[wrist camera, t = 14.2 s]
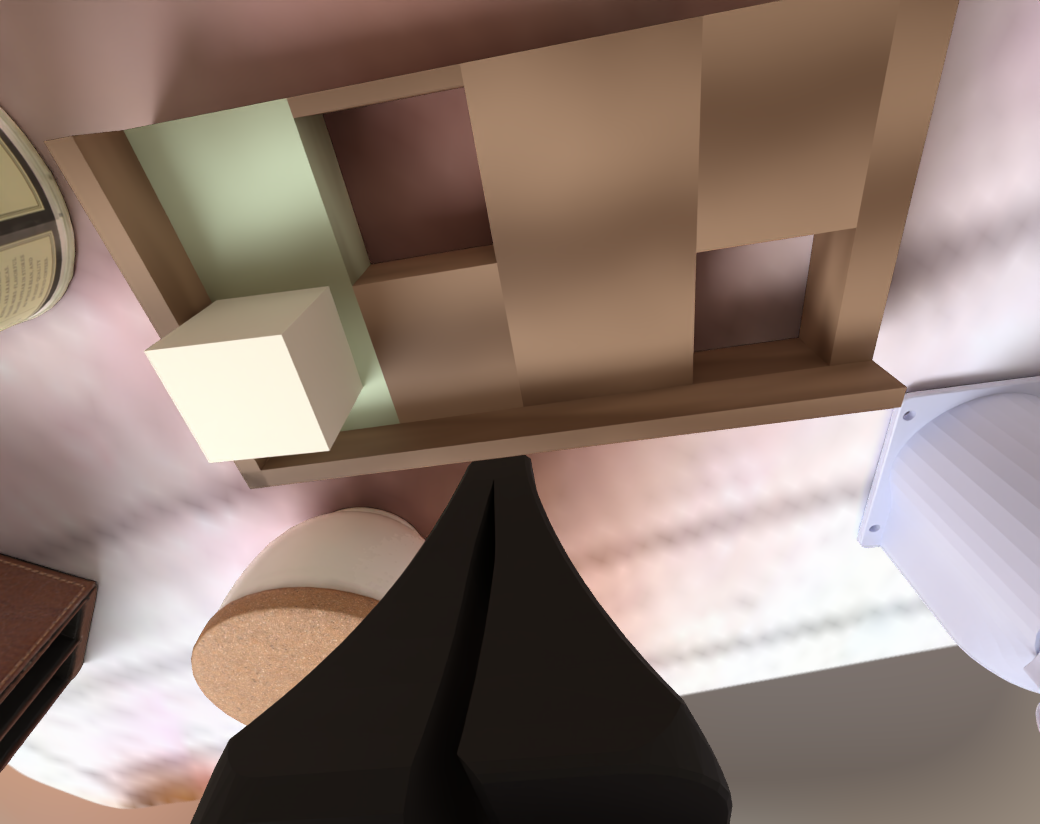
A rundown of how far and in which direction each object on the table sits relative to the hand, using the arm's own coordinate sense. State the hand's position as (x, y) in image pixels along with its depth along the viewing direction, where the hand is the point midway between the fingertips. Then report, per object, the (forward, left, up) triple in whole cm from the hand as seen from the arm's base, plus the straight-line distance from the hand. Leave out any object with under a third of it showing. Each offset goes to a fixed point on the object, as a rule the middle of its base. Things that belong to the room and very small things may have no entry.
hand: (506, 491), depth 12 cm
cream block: (+1, +8, -8) cm, 11 cm away
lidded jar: (-12, +10, -11) cm, 19 cm away
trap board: (+2, -1, -10) cm, 11 cm away
